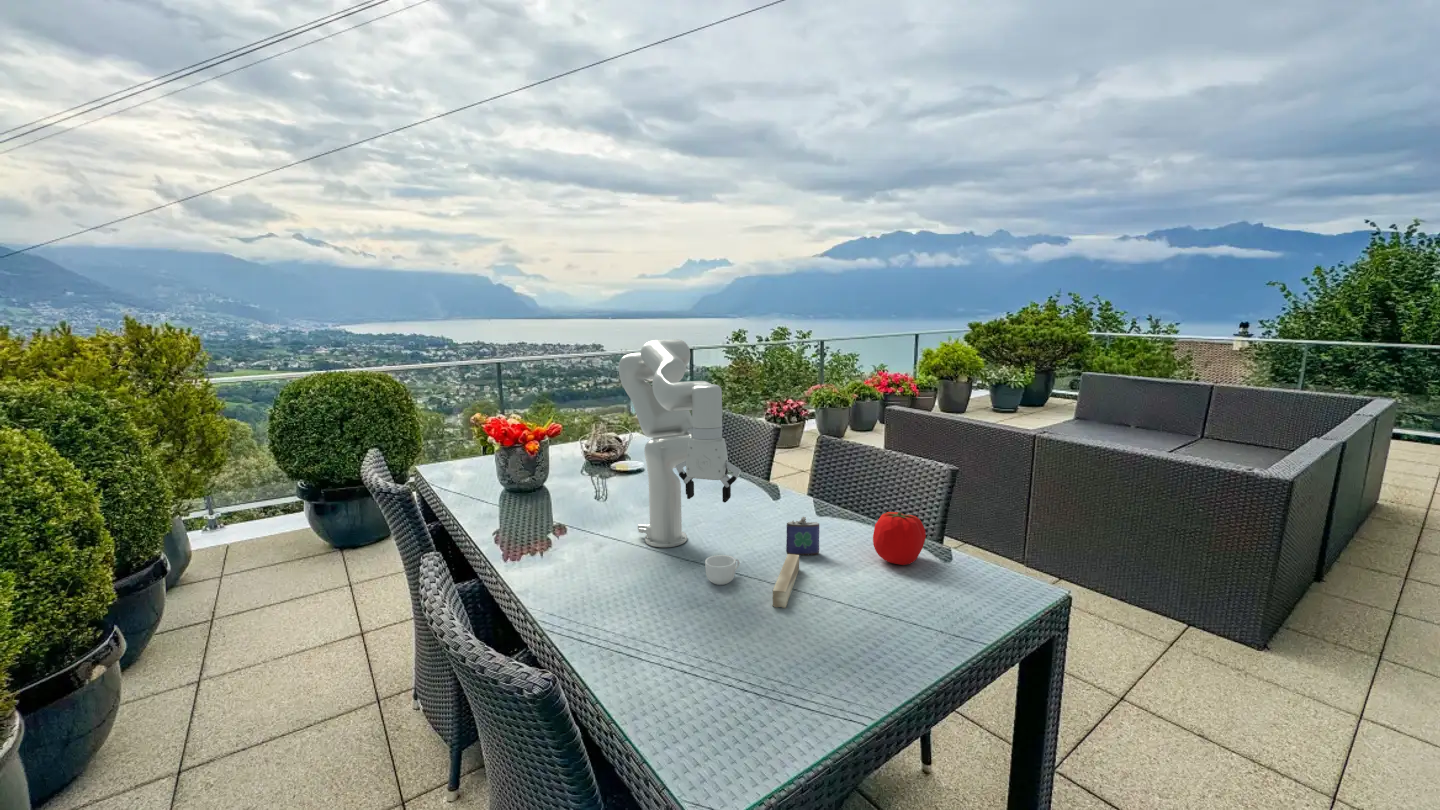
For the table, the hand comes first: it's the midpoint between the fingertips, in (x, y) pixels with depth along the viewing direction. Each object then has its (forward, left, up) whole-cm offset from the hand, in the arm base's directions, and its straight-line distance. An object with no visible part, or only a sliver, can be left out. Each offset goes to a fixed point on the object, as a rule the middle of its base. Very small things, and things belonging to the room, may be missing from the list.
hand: (708, 499), depth 149 cm
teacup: (+5, -3, -20) cm, 21 cm away
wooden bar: (+21, -3, -20) cm, 29 cm away
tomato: (+48, +21, -20) cm, 56 cm away
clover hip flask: (+22, +19, -20) cm, 35 cm away
